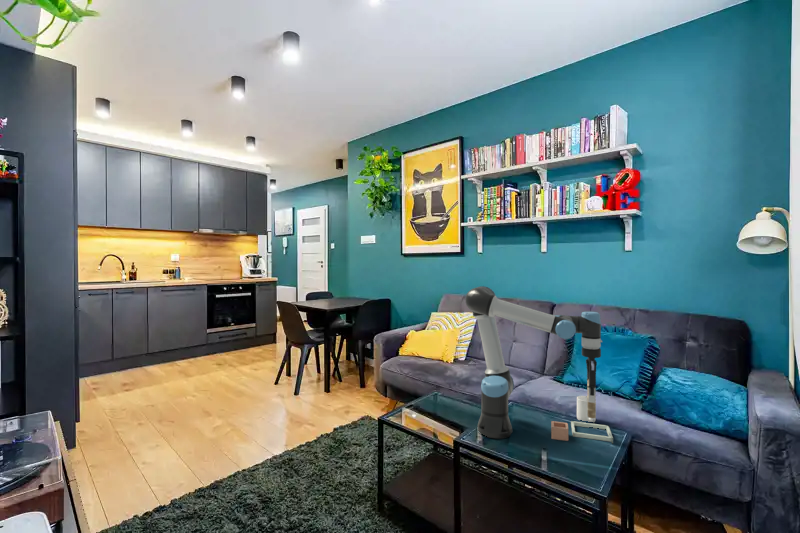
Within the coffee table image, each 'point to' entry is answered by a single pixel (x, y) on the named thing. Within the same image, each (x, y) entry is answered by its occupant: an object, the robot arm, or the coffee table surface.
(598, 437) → the tray
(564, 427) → the holder
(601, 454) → the coffee table surface
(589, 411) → the pin
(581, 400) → the cup
